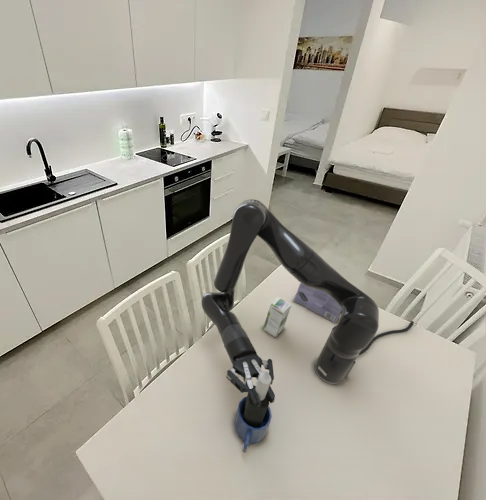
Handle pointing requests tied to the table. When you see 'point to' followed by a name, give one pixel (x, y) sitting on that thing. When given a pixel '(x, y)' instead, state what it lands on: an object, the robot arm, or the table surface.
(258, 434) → the mug
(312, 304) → the cake pan box
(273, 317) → the syrup box
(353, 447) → the table surface
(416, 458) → the table surface
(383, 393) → the table surface
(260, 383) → the candle
